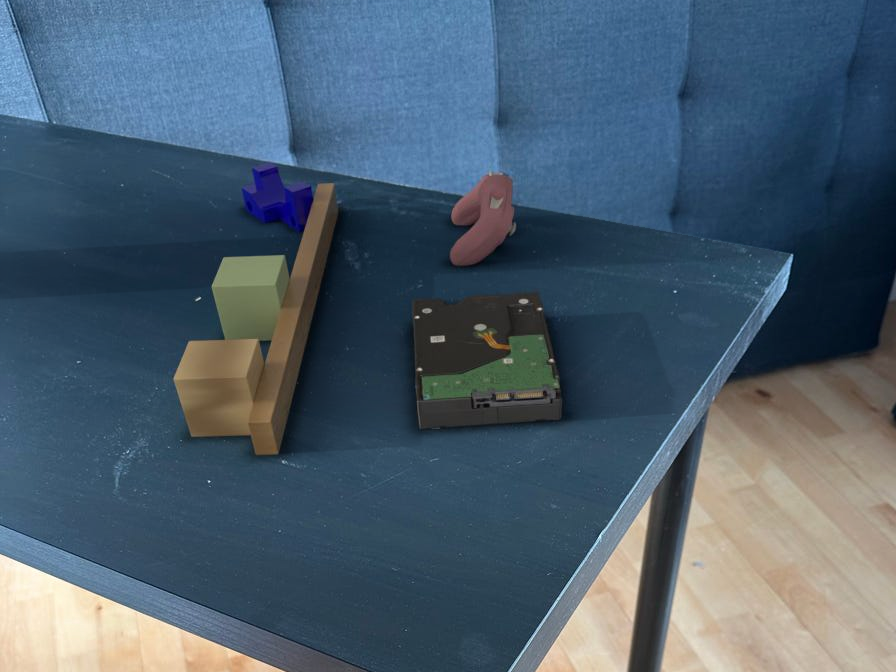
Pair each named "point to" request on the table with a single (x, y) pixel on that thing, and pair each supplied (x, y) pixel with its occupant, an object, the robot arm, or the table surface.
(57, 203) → the table surface
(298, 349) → the rail
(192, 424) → the maple block
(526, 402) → the disk drive
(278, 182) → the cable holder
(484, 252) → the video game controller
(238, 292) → the sage block
